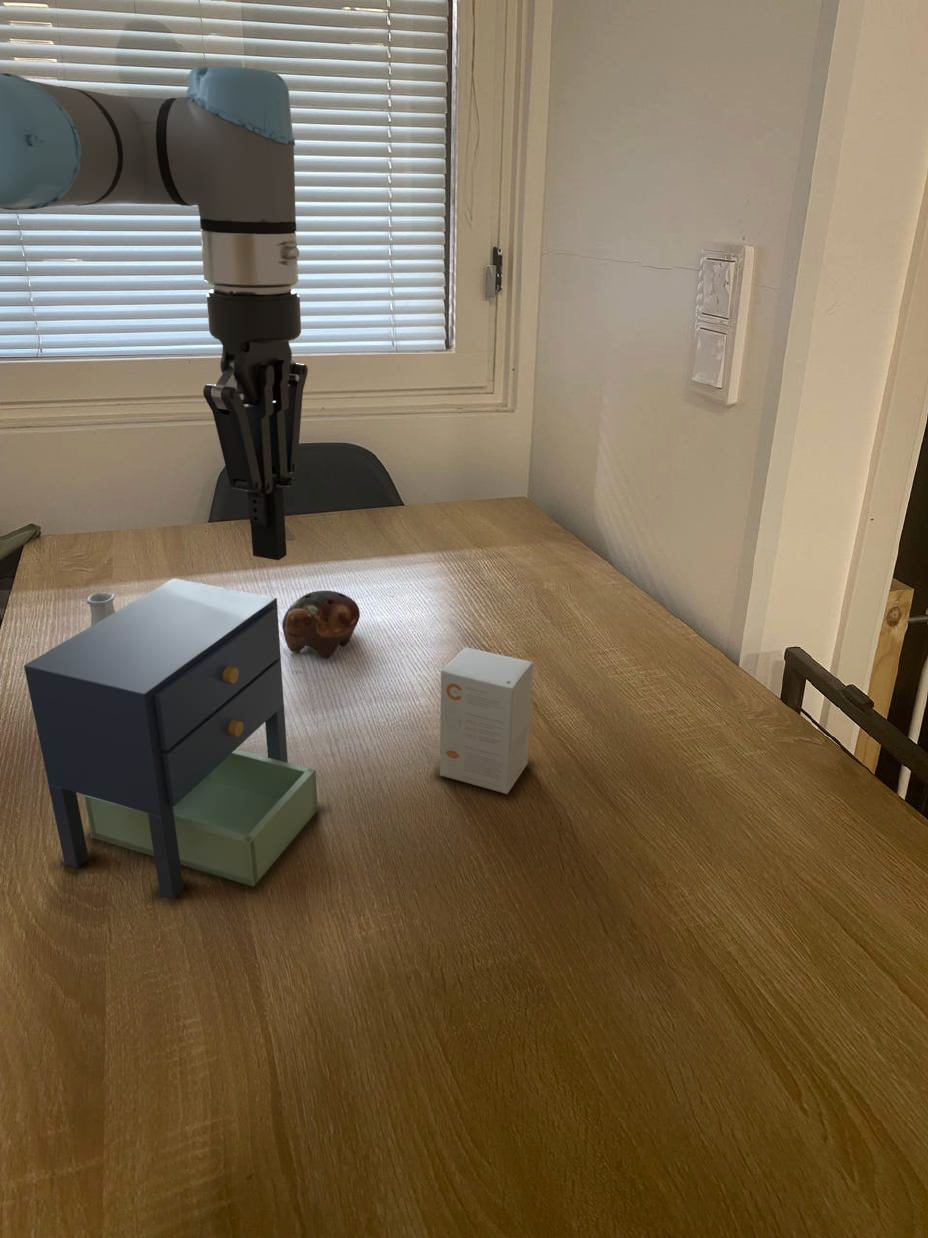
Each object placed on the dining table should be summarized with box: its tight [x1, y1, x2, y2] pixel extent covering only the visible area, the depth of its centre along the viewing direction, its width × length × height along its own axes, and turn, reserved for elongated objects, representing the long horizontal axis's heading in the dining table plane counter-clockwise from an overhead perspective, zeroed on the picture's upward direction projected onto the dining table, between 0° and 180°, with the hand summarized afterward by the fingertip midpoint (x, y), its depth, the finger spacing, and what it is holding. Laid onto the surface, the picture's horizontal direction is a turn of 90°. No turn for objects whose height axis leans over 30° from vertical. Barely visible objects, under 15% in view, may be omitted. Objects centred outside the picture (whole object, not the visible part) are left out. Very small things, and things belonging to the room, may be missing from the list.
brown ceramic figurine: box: [281, 590, 361, 660], centre depth 123 cm, size 10×15×8 cm, turn 163°
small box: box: [439, 646, 534, 795], centre depth 96 cm, size 8×6×13 cm
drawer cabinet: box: [23, 577, 289, 899], centre depth 86 cm, size 13×20×21 cm
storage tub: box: [83, 749, 318, 887], centre depth 89 cm, size 18×12×5 cm, turn 70°
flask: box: [86, 591, 116, 627], centre depth 115 cm, size 7×7×10 cm
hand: (269, 555), depth 85 cm, fingers closed
